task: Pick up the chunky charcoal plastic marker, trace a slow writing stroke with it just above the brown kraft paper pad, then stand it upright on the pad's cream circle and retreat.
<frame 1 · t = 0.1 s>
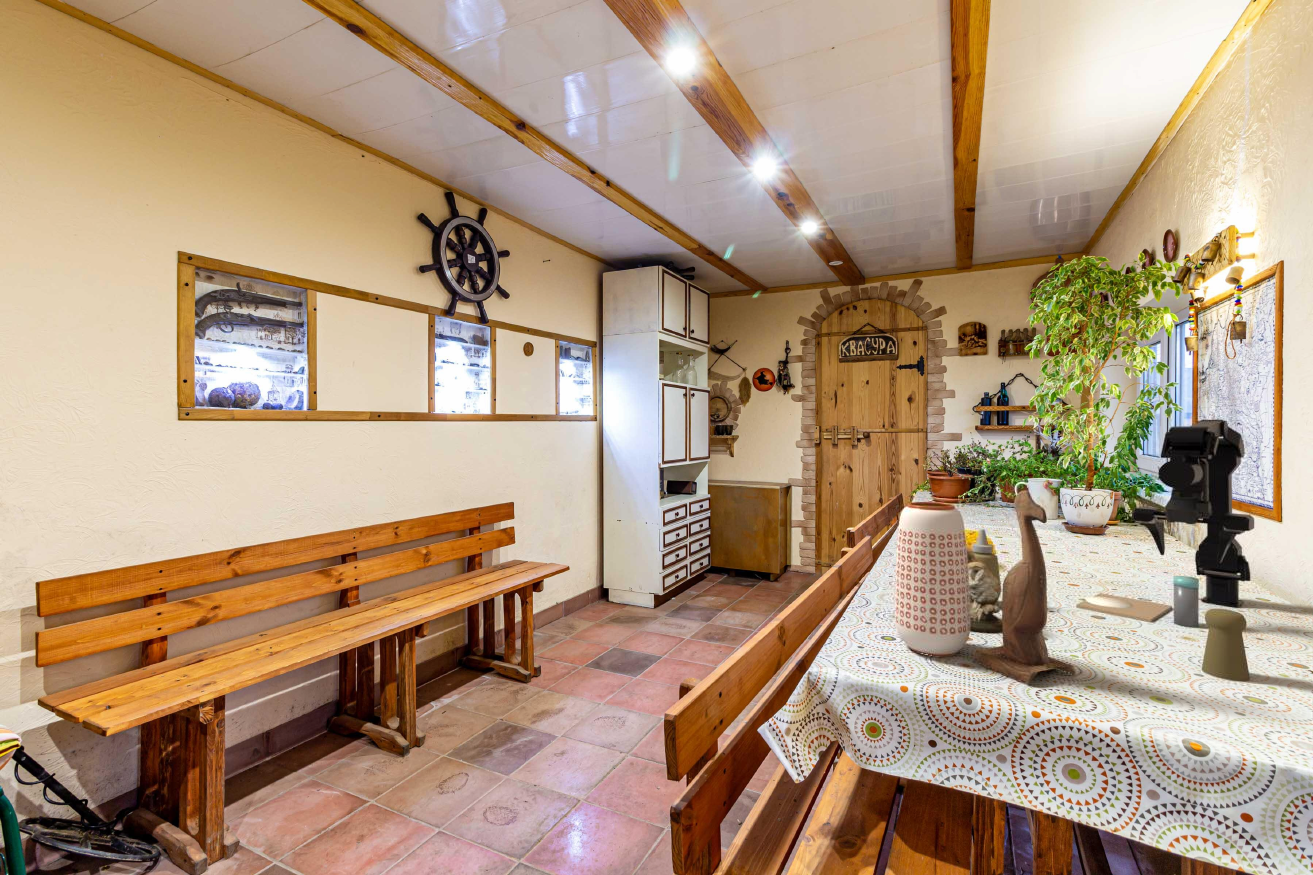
hand: (1190, 558, 126), 15 cm above the table, tool pointing down, fingers open, 9 cm apart
marker: (1186, 624, 128), on the table
patterned ceramic vase: (931, 649, 115), on the table
cork: (1225, 674, 102), on the table
squeeze bottle: (982, 604, 144), on the table
bird sculpture: (1022, 670, 105), on the table
kraft pad: (1123, 607, 140), on the table
owl figurine: (960, 621, 132), on the table
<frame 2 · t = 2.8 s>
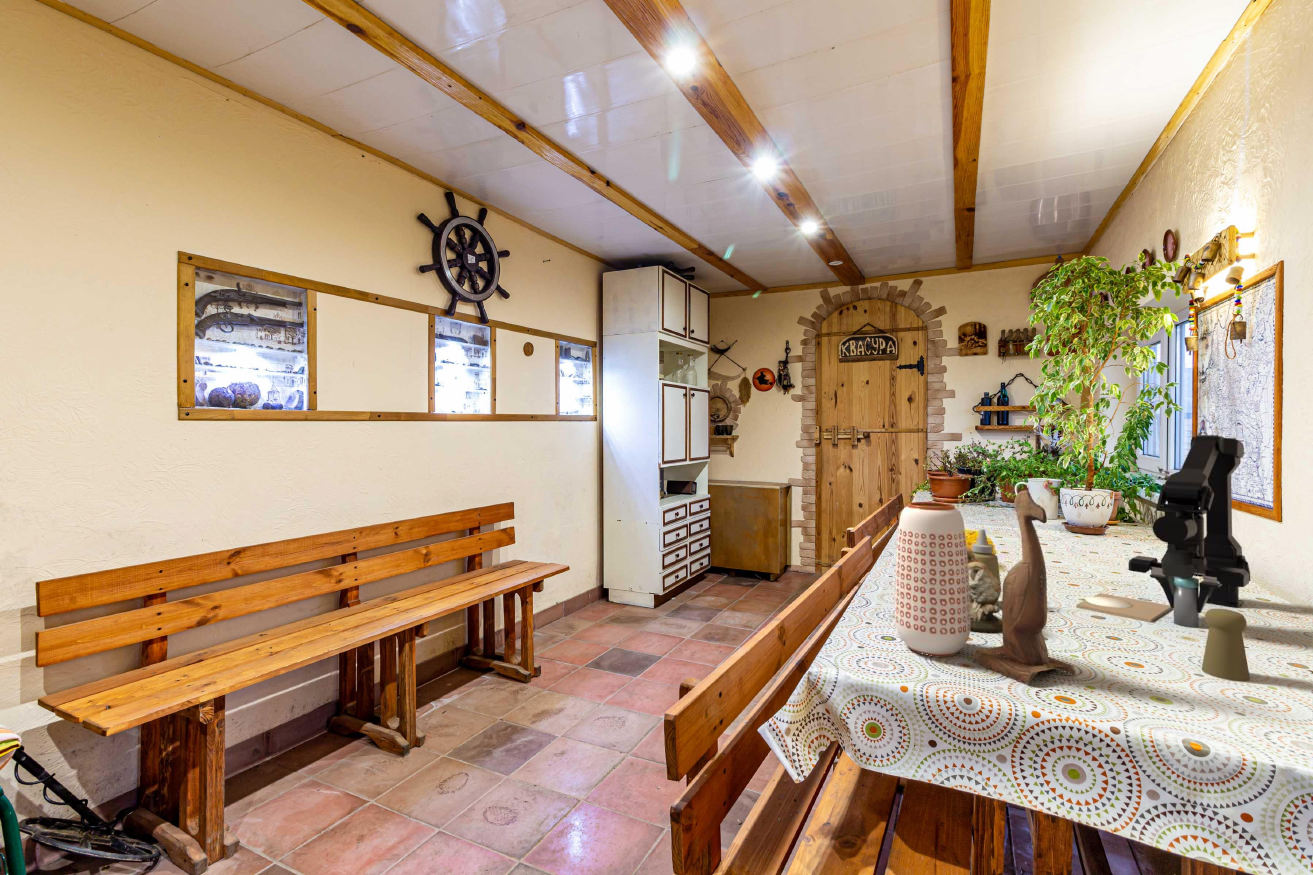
hand: (1186, 610, 127), 3 cm above the table, tool pointing down, fingers closed on marker, 4 cm apart
marker: (1186, 624, 128), on the table, touching gripper
everything else where it was.
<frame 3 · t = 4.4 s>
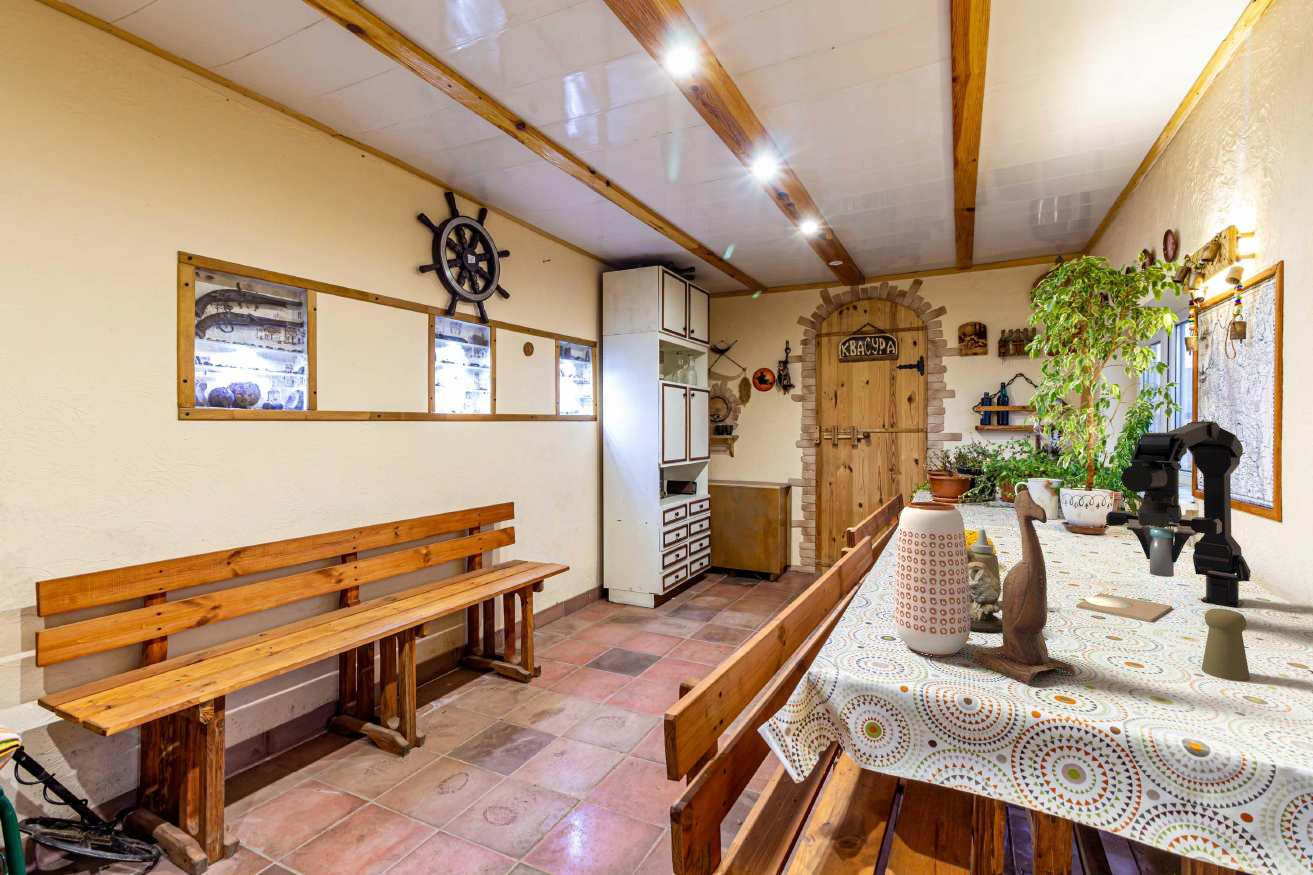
hand: (1161, 560, 130), 13 cm above the table, tool pointing down, fingers closed on marker, 4 cm apart
marker: (1161, 574, 130), point 10 cm above the table, touching gripper
everything else where it was.
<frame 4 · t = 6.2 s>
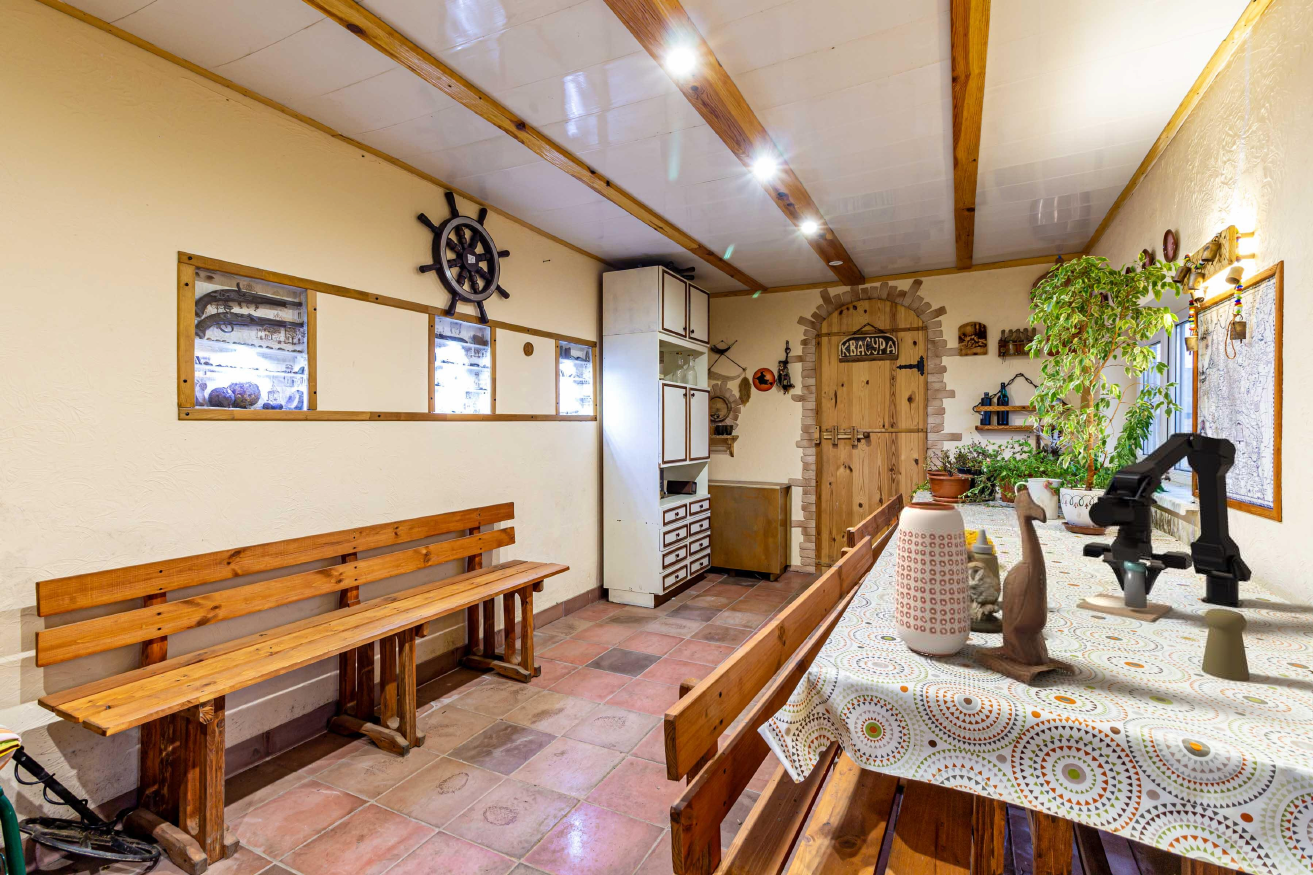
hand: (1135, 592, 135), 5 cm above the table, tool pointing down, fingers closed on marker, 4 cm apart
marker: (1135, 605, 135), point 2 cm above the table, touching gripper
everything else where it was.
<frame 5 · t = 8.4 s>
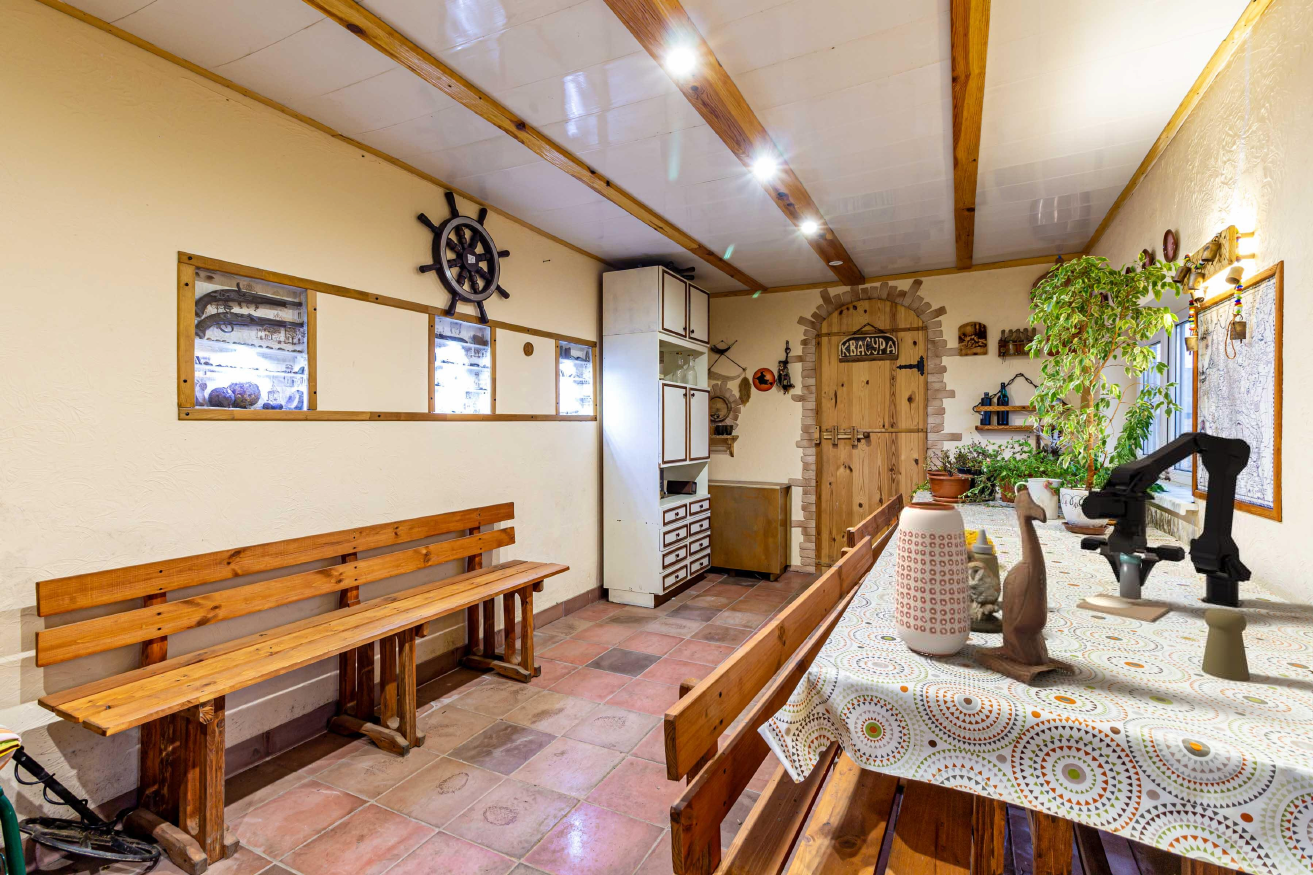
hand: (1130, 584, 141), 5 cm above the table, tool pointing down, fingers closed on marker, 4 cm apart
marker: (1130, 597, 141), point 2 cm above the table, touching gripper
everything else where it was.
when the fingers open (4 cm above the table, at t = 9.9 s): marker stays where it is, resting on kraft pad.
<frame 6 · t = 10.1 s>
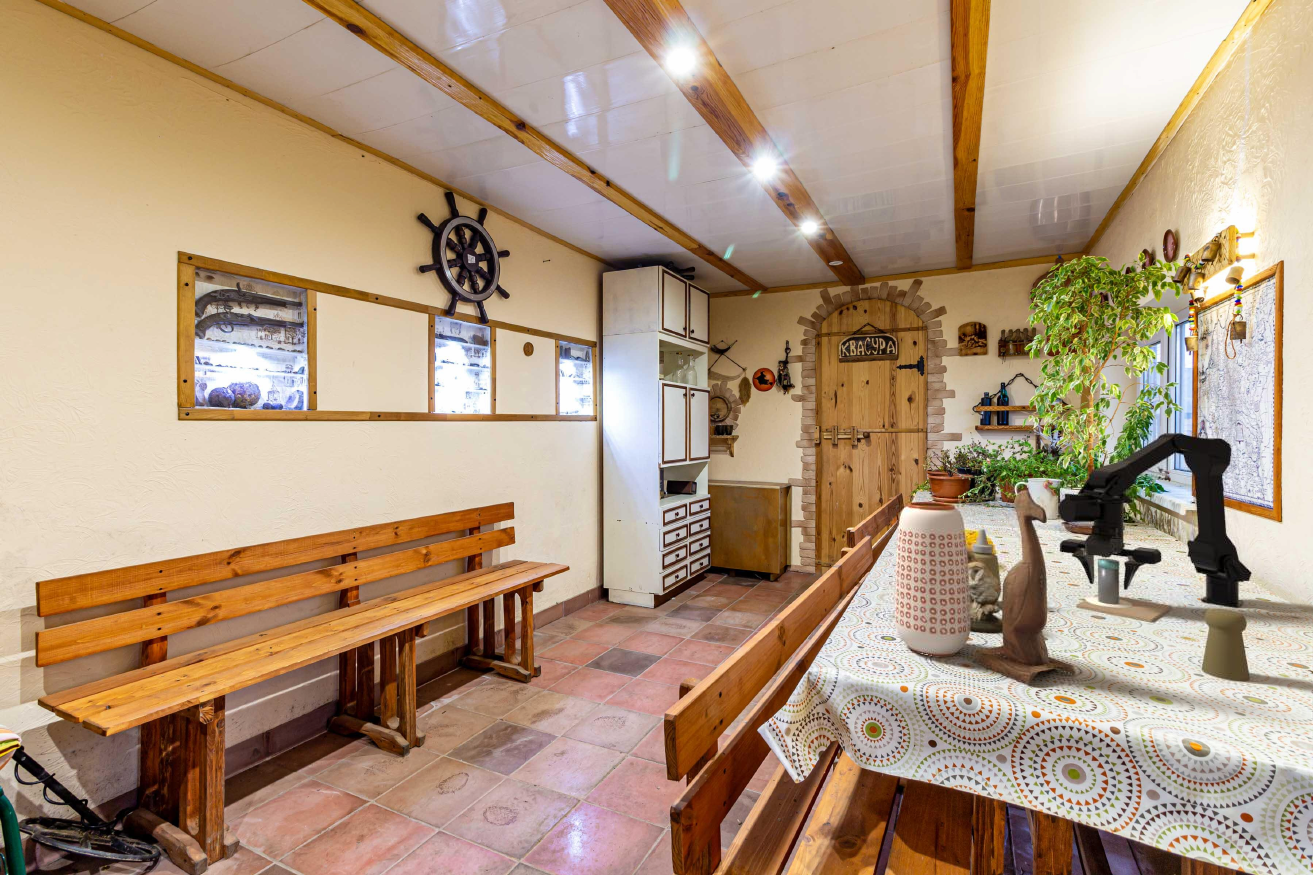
hand: (1108, 586, 142), 4 cm above the table, tool pointing down, fingers open, 6 cm apart
marker: (1108, 601, 142), point 1 cm above the table, touching kraft pad
everything else where it was.
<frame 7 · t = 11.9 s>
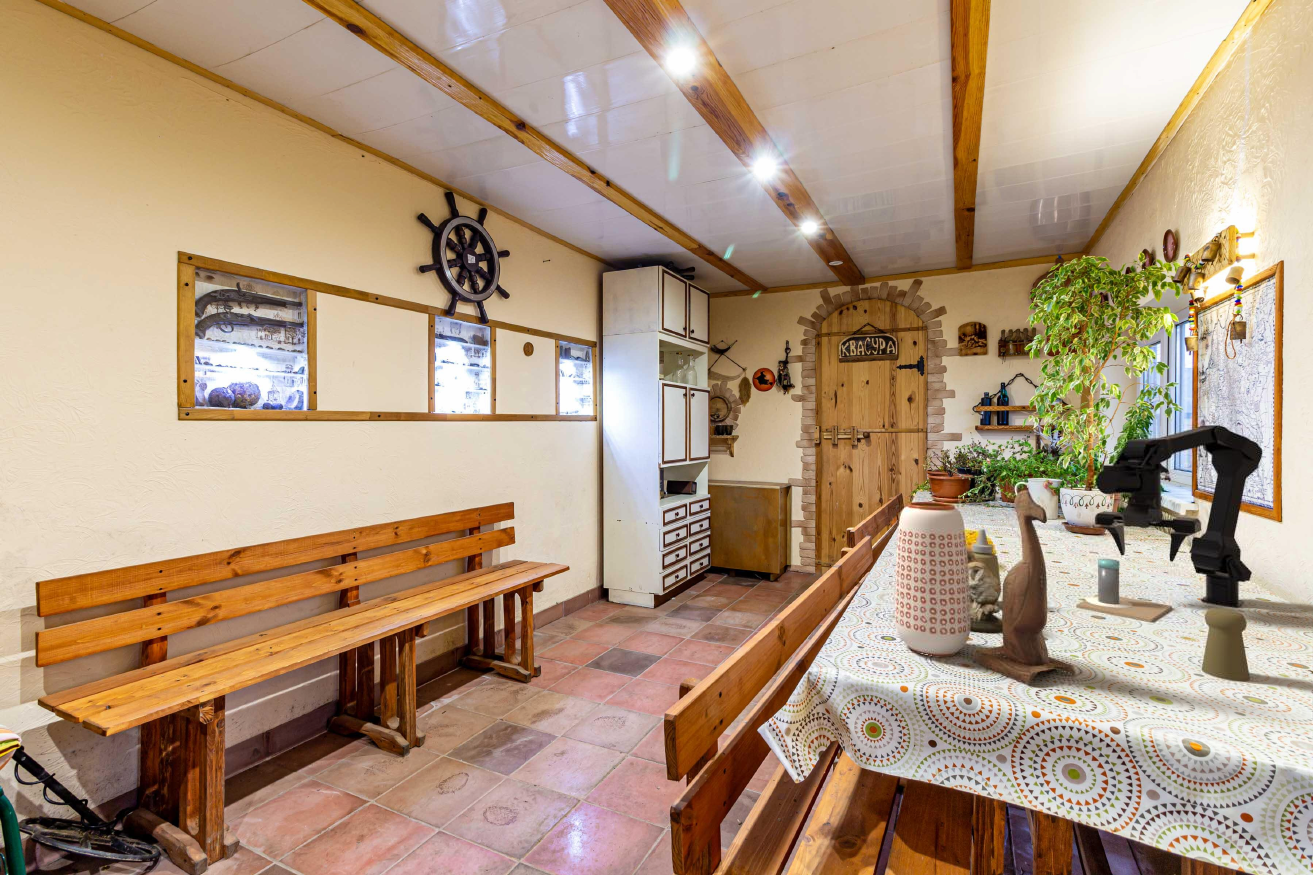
hand: (1146, 558, 140), 12 cm above the table, tool pointing down, fingers open, 9 cm apart
nothing on the table moved.
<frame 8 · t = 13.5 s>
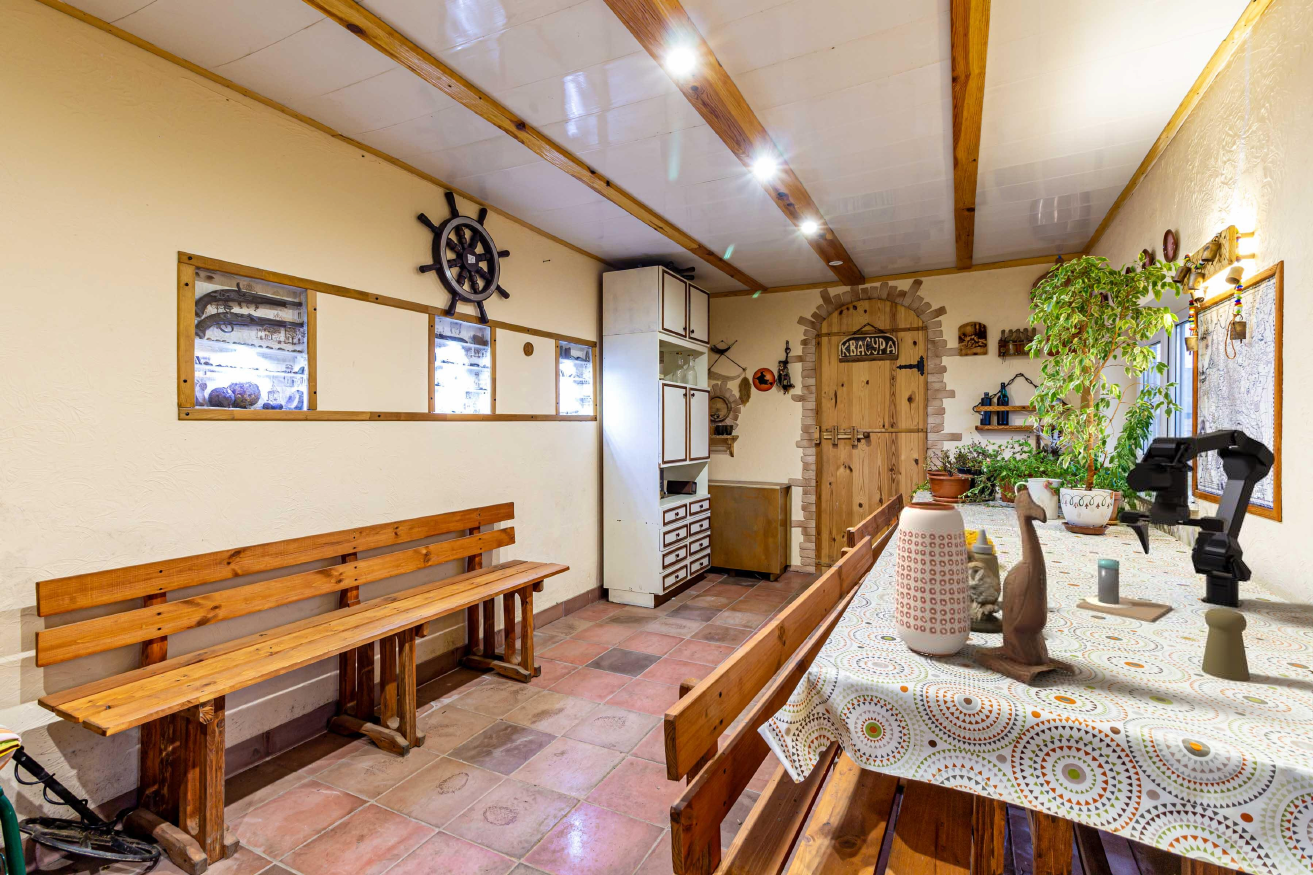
hand: (1171, 557, 139), 12 cm above the table, tool pointing down, fingers open, 9 cm apart
nothing on the table moved.
at the end: marker inside the target area (0.0 cm from its centre), point 0.7 cm above the table; marker tilted 0°; the gripper is holding nothing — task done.
